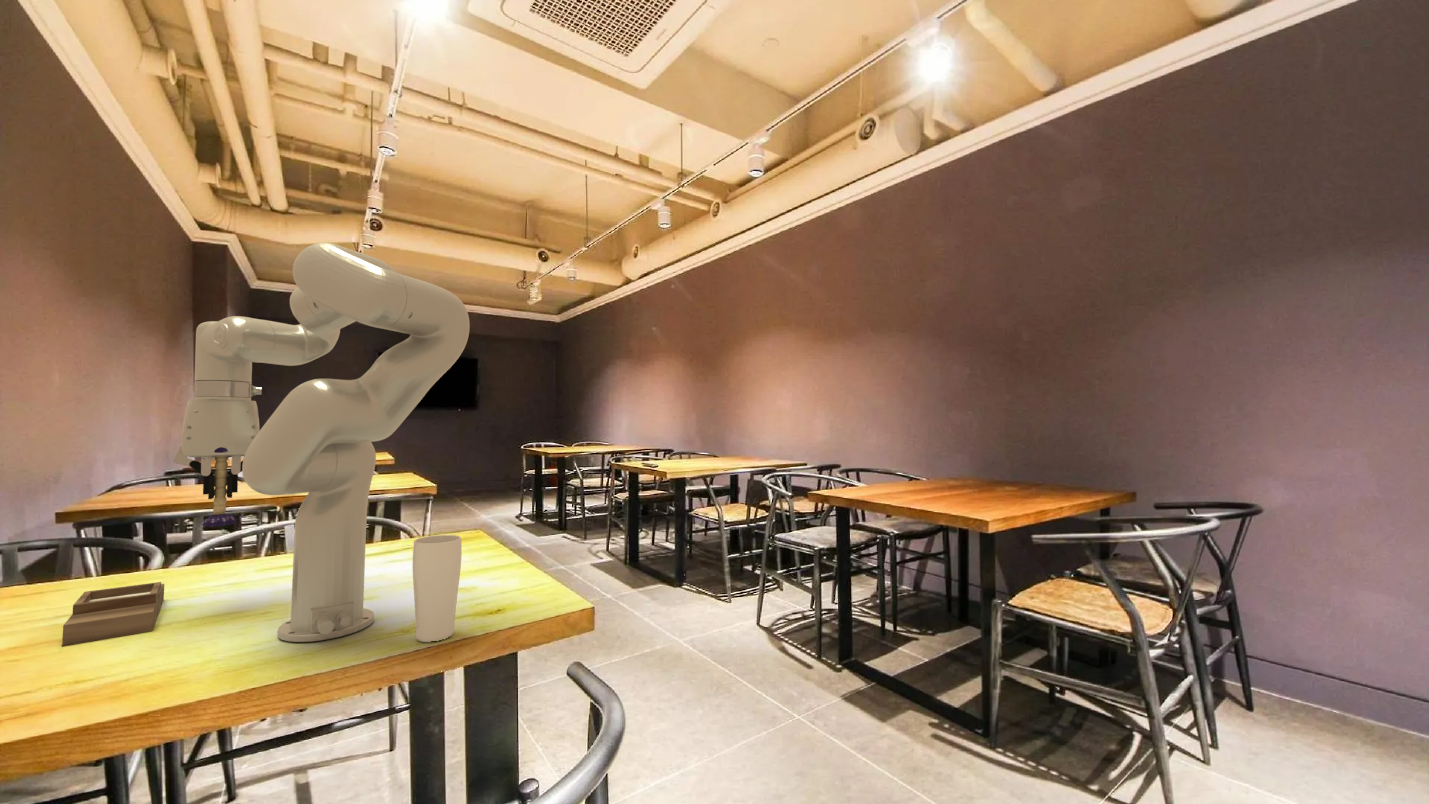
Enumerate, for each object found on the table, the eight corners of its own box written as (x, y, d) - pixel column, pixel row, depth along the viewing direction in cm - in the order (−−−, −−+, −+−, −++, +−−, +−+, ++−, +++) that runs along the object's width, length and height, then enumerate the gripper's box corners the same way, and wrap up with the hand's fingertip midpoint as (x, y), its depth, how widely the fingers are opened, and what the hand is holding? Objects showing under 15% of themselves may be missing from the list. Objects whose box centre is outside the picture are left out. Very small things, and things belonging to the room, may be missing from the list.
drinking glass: (467, 629, 88) (470, 535, 88) (442, 646, 81) (445, 544, 82) (428, 628, 88) (430, 534, 89) (399, 644, 82) (403, 542, 82)
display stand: (152, 631, 86) (153, 601, 86) (61, 646, 80) (63, 614, 80) (163, 600, 101) (164, 575, 101) (88, 610, 95) (90, 584, 95)
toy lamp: (243, 521, 99) (242, 428, 99) (233, 525, 95) (232, 428, 95) (209, 524, 97) (208, 429, 97) (197, 528, 93) (196, 429, 93)
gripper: (279, 395, 105) (276, 492, 104) (162, 392, 94) (158, 500, 93) (281, 392, 99) (279, 495, 98) (157, 389, 89) (153, 504, 88)
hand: (220, 497), depth 96 cm, fingers closed on toy lamp
